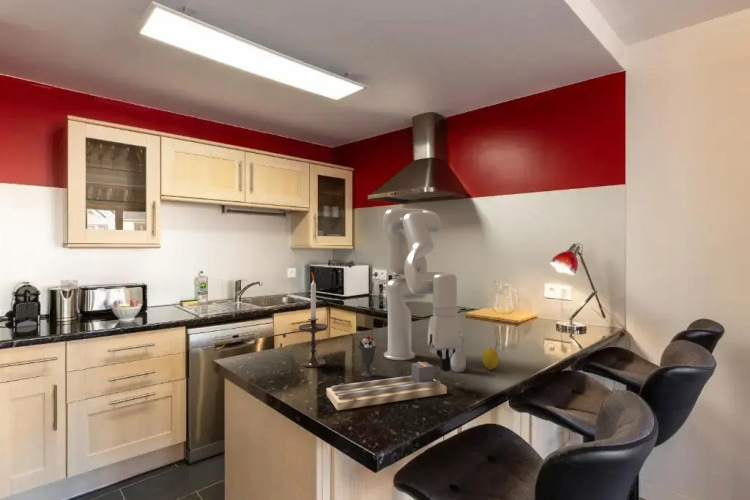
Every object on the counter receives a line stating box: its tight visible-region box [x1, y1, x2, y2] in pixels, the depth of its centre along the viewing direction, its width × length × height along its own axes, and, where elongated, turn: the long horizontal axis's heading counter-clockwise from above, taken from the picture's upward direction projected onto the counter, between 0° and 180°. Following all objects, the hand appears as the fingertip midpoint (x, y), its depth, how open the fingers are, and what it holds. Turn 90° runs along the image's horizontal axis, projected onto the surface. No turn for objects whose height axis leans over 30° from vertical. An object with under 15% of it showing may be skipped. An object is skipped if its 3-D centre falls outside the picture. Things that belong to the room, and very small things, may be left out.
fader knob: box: [411, 361, 435, 383], centre depth 120 cm, size 5×5×5 cm
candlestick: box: [298, 271, 329, 369], centre depth 145 cm, size 11×11×35 cm
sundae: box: [358, 330, 378, 378], centre depth 133 cm, size 7×7×15 cm
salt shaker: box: [450, 333, 467, 373], centre depth 138 cm, size 6×6×13 cm
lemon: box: [481, 347, 499, 371], centre depth 139 cm, size 6×6×8 cm
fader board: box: [325, 375, 448, 411], centre depth 115 cm, size 34×12×3 cm, turn 111°
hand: (445, 370), depth 122 cm, fingers closed
